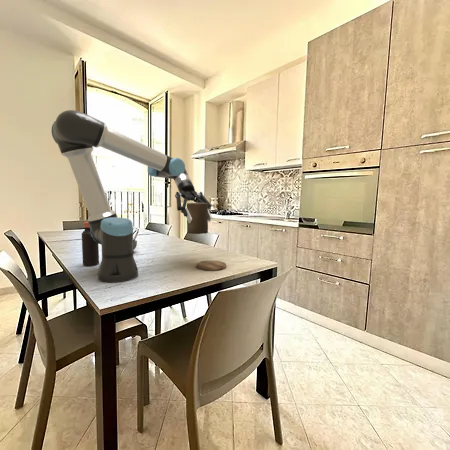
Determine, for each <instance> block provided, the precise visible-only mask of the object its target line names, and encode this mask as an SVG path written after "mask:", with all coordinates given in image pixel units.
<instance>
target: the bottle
mask: <svg viewBox="0 0 450 450" xmlns="http://www.w3.org/2000/svg"><path fill="white" fill-rule="evenodd" d="M83 229H84V230H83V231H82V232H81V249H82V250H81V251H82V252H81V253H82V255H81V256H82V266H84V267H95V266H97V265H98V266H99V265H100V253H99V250H100V249H99V243H97V242H96V241H94V239H93V238H92V236H91V233H90V226H89V223H88V221H84V222H83Z"/></svg>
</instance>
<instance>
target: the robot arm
mask: <svg viewBox="0 0 450 450" xmlns="http://www.w3.org/2000/svg"><path fill="white" fill-rule="evenodd" d="M50 130H51V136H52V138H53V140H54V142H55V144H57V146H58V149H59V151H60V153H61V155H62V156H63V157H65V158H67V160H68V162H69V165H70V168H71V170H72V173H73V177H74V178H75V180H76V183H77V185H78V188H79V191H80V193H81V196H82V198H83V201H84V204H85V207H86V209H87V212H88V218H87V221H86V222H88V223H89V226H90V233H91V236H92V238H93V239H94V241H96V242H97V243H98V245H100V246H101V260H100V263H99V267H98V270H97V280H99V281H100V282H102V283H103V282H104V283H119V282H126V281H130V280H134V279H135V278H137V277H138V276H139V268H138V267H137V263H136V261H135V258H134V253H133V251H134V250H133V240H134V227H133V221H132V220H131V219H129V218H126V217H125V218H124V217H118V215H117V212H116V211H115V210H112V209H111V207H110V204H109V203H110V202H109V200H108V198H107V195H106V191H105V190H104V186H103V184H102V180H101V179H100V176H99V173H98V170H97V167H96V164H95V161H94V158H93V156H92V152H93V151H94V148H99V147H101V148H103V149H106V150H108V151H111V152H113V153H115V154H118V155H121V156H123V157H125V158H127V159H131V160H132V161H135V162H137V163H140V164H142V165H144V166H146V167H147V174H148V175H149V176H150V177H155V178H162V179H164V178H165V179H170V180H173V181H174V183H175V185H176V188H177V190H178V191H176V192H175V195H174V197H175V199H176V210H177V211H178V212H180V213H181V214H183V217H186V221H187V220H188V222H189V223H191V221H192V217H191V215H190V213H189V211H188V208H187V203H188V202H189V201H192V202H193V203H197V201H198V203H208V223H209V222H210V223H211V221H212V220H213V217H212V214H211V210H210V209H211V208H212V204H211V203H210V202H209V201H208V200H207V197H205V196H204V194H203V192H202V191H200V192H197V191H196V188H195V186H194V184H193V182H192V180H191V178H190V176H189V174H188V172H187V170H186V165H185V164H186V163H185V161H184V160H183V159H181V158H179V157H171V156H170V155H167V154H164V153H162V152H160V151H158V150H156V149H154V148H152V147H149V146H148V145H145V144H143V143H141V142H139V141H137V140H135V139H133V138H130V137H129V136H127V135H124V134H123V133H120V132H118V131H116V130H115V129H111V128H110V127H108V126H107V124H106V123H105V122H103V121H101V120H99V119H97V118H94V117H93V116H91V115H89V114H86V113H84V112H82V111H78V110H74V109H72V110H71V109H69V110H65V111H62V112H61V113H59V114H58V115H57V117H56V120H55V121H54V122H53V123H52V126H51V129H50ZM182 198H183V202H182Z"/></svg>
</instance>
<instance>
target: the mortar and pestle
mask: <svg viewBox="0 0 450 450" xmlns="http://www.w3.org/2000/svg"><path fill="white" fill-rule="evenodd" d="M137 245H138V241H137V240H136V239H133V254H134V253H135V249H136V248H137Z"/></svg>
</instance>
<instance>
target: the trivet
mask: <svg viewBox="0 0 450 450" xmlns="http://www.w3.org/2000/svg"><path fill="white" fill-rule="evenodd" d="M195 265H196V266H195V267H196V269H198V270H200V271H204V272H205V271H206V272H216V271H217V272H218V271H223V270H225V269H226V268H227V264H226V263H225V262H223V261H219V260H204V261H202V260H201V261H199V262H197V263H196V264H195Z"/></svg>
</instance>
